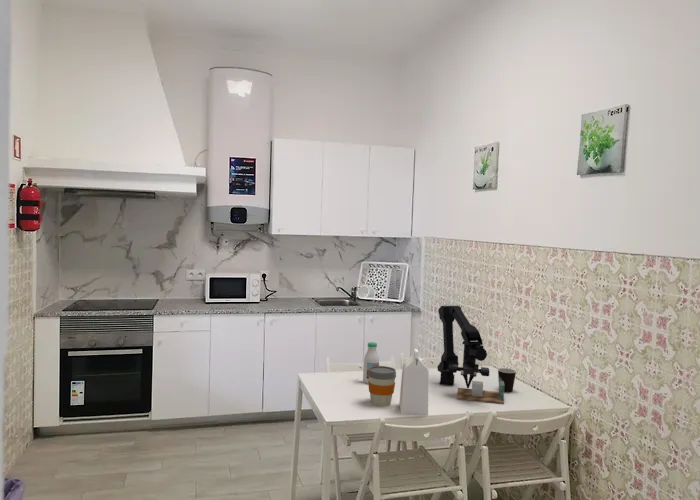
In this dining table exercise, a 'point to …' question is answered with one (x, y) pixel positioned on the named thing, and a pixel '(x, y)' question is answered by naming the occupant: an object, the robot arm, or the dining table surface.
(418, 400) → the milk
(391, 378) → the reusable coffee cup
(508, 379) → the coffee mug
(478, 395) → the metal slider block
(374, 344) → the milk bottle
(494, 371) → the dining table surface
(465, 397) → the rail board
